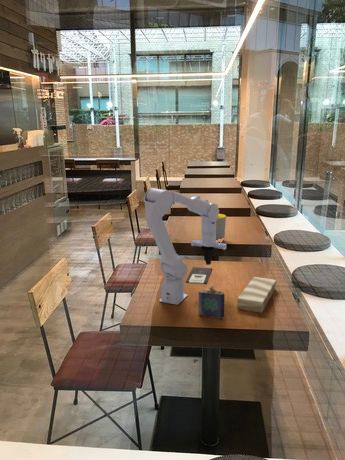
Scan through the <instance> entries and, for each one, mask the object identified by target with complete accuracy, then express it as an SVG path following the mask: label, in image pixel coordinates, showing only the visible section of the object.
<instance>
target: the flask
mask: <svg viewBox="0 0 345 460" xmlns="http://www.w3.org/2000/svg"><path fill="white" fill-rule="evenodd" d="M197 294H198V315H199V316H201V315H202V317H208V316H211V317H213V318H217V317H218V318H219V319H224V318H225V293H224V292H222V291H220V290H216V289H215V288H214V286H210V287H208V289H206V290H205V289H200V290H198V293H197ZM211 317H210V318H211ZM223 317H224V318H223Z"/></svg>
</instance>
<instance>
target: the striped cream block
mask: <svg viewBox="0 0 345 460" xmlns="http://www.w3.org/2000/svg"><path fill="white" fill-rule="evenodd" d="M276 285H277V280H276V279H271V278H265V277H258V276H253V277H252V278H251V279H250V281H249V282H248V284H247V285H246V287H244V289H243V290H242V292H241V293H240V294H239V296H238V297H237V306H236V307H237V309H238V310H245V311H248V312H249V311H250V312H255V313H260V314H262V313H263V311H264V310H265V308H266V307H267V305H268V303H269V301H270V300H271V298H272V296H273V294H274V292H275V291H276V288H277V287H276Z"/></svg>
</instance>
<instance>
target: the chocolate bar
mask: <svg viewBox="0 0 345 460" xmlns="http://www.w3.org/2000/svg"><path fill="white" fill-rule="evenodd" d="M211 270H213V267H197V266H195V267H194V266H193V267H191V270H190V272H189V274H188V276H187V278H186V280H185V283H187V284H188V283H190V284H202V285H207V284H208V281H209V278H210V276H211V273H212V271H211Z"/></svg>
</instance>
